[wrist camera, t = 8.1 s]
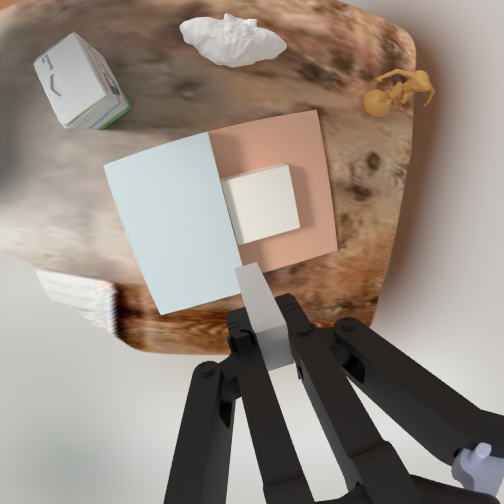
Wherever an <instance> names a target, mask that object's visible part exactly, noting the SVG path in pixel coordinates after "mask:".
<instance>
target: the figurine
mask: <svg viewBox="0 0 504 504" xmlns="http://www.w3.org/2000/svg"><path fill="white" fill-rule="evenodd" d="M395 74H401V75H404V76H407V77H409V79H408V80H407V81H406V82H405V83H404V84H402V83H401V82H398V83H397V84H396V85H395V87H394V88H393V89H392V90H390V89H388V90H386V91H385V92H383V91H381V90H377V89H373V90H370V91H368V92H367V93H366V94H365V95H364V97H363V106H364V109H365V110H366V112H367V113H368V114H370V115H371V116H373V117H384V116H386V115H387V114H388V113H389V112H390V110H391V104H392V101H393V100H394V99H395V98H396V97H397V99H398V100H399V101H400V102H401V103H403V104H405V103H406V101H407V100H408V99H409V98H410V97H411V96H412V95H413V94H415V91H417V92H422V91H423V92H426V91H429V90H430V91H431V93H430V95H429V97H428V99H427V103H426V104H424V106H426V105H427V104H428V103H429V102H430V101H431V99H432V96H433V94H434V93H435V91H434V89H433V87H432V85H431V83H430V82H429V76H428V74H427V73H426V72H424V71H422V70H418V71H415V72H408V71H404V70H400V69H395V70H393V71H391V72H389V73H386V74H384V75H382V76H379V77H377V78H375V79H377V80H378V82H379V81H381V82H382V79H383V78H387V77H390V76H392V75H395ZM377 80H376V81H377ZM376 81H375V82H376ZM378 82H377V83H378ZM402 91H404V92H403V93H402ZM401 93H402V96H401V95H400V94H401ZM387 94H388V95H389V96H388V95H387ZM389 97H390V98H389Z"/></svg>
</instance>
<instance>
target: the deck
mask: <svg viewBox="0 0 504 504" xmlns="http://www.w3.org/2000/svg"><path fill="white" fill-rule="evenodd" d="M104 170H105V173H106V176H107V180H108V183H109V186H110V189H111V192H112V195H113V198H114V201H115V204H116V207H117V210H118V213H119V215H120V218H121V221H122V224H123V226H124V229H125V232H126V234H127V237H128V240H129V242H130V245H131V247H132V250H133V252H134V255H135V257H136V260H137V262H138V265H139V267H140V270H141V272H142V274H143V277H144V279H145V281H146V284H147V286H148V288H149V290H150V293H151V295H152V297H153V299H154V301H155V304H156V306H157V308H158V310H159V312H160V314H161V315H163V314H167V313H171V312H174V311H178V310H182V309H186V308H189V307H193V306H197V305H200V304H204V303H208V302H211V301H215V300H218V299H222V298H225V297H229V296H233V295H236V294H240V293H241V291H240V288H239V284H238V281H237V277H236V274H235V270H234V268H238V267H241V266H242V262H241V259H240V255H239V251H238V247H237V244H236V240H235V236H234V232H233V228H232V225H231V221H230V217H229V213H228V209H227V206H226V202H225V198H224V194H223V190H222V186H221V183H220V179H219V175H218V171H217V167H216V163H215V159H214V155H213V151H212V147H211V143H210V139H209V135H208V132H204V133H200V134H196V135H193V136H189V137H186V138H182V139H179V140H176V141H172V142H169V143H166V144H163V145H159V146H156V147H153V148H150V149H147V150H144V151H141V152H139V153H136V154H133V155H130V156H127V157H125V158H122V159H119V160H116V161H114V162H111V163H109V164H106V165H104Z"/></svg>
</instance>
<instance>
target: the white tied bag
mask: <svg viewBox="0 0 504 504" xmlns="http://www.w3.org/2000/svg"><path fill="white" fill-rule="evenodd" d="M256 23H257V19H247V20H244V19H241V18H235V17H234V16H233V15H231V14H228V13H226V14H225V15H224V19H223V20H216V19H214V18H211V17H198V18H194V19H191V20H188V21H184V22H183V23H182V24H181V25H180V30H181V33H182V34H183V38H184V41H185V42H186V43H188V44H191V45H193V46H194V47H195V48H196V49H197V50H198V51H199V53H200V55H202V56H203V57H205V58H207V59H209V60H210V61H212V62H213V63H215V64H217V65H225V66H228V67H231V68H233V67H241V66H244V65H245V66H247V65H252V64H254V63H255V62H256V61H261V60H264V59H270V60H271V59H275V58H276V57H277V56H278V55H279V54H280V53H282V52H283V51H285V50H286V48H287V45H286V43H285V41H284V40H282V39H281V38H280V37H279V36H278V35H277V34H276V33H274V32H272V31H269V30H268V29H265V28H257V25H256Z"/></svg>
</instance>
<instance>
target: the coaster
mask: <svg viewBox="0 0 504 504" xmlns="http://www.w3.org/2000/svg"><path fill="white" fill-rule="evenodd" d="M220 183H221V186H222V190H223V194H224V198H225V202H226V206H227V209H228V213H229V217H230V221H231V225H232V228H233V232H234V236H235V239H236V242H237V244H238V245H241V244H245V243H248V242H252V241H255V240H259V239H262V238H266V237H269V236H273V235H276V234H280V233H283V232H287V231H290V230H294V229H297V228H300V224H299V219H298V213H297V208H296V202H295V197H294V191H293V186H292V181H291V176H290V171H289V166H288V165H287V164H284V163H279V164H275V165H271V166H266V167H262V168H258V169H254V170H250V171H246V172H243V173H239V174H235V175H231V176H227V177H224V178H220Z"/></svg>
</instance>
